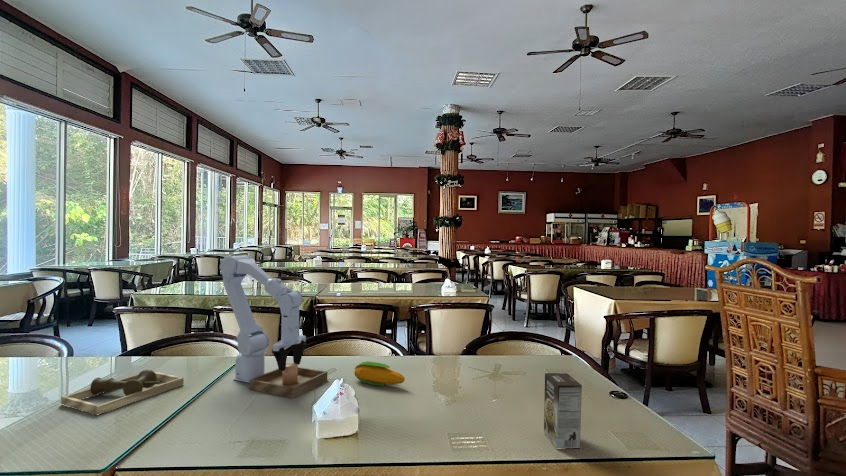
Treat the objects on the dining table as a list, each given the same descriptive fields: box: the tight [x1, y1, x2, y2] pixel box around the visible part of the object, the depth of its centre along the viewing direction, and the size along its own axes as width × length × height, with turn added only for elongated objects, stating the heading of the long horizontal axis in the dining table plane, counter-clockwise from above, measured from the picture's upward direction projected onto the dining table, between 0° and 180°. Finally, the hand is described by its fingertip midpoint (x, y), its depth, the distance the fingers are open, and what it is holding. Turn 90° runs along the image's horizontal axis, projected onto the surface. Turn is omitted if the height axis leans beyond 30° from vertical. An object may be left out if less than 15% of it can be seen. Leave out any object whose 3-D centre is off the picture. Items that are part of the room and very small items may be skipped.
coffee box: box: [543, 372, 583, 449], centre depth 113 cm, size 9×6×16 cm
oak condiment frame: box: [60, 370, 185, 415], centre depth 139 cm, size 17×27×2 cm, turn 157°
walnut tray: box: [249, 366, 328, 399], centre depth 150 cm, size 18×18×3 cm
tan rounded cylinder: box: [282, 362, 299, 385], centre depth 150 cm, size 5×5×6 cm
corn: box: [353, 361, 406, 387], centre depth 152 cm, size 7×8×20 cm
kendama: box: [89, 369, 162, 396], centre depth 139 cm, size 6×10×20 cm
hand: (289, 367), depth 150 cm, fingers open, 7 cm apart
